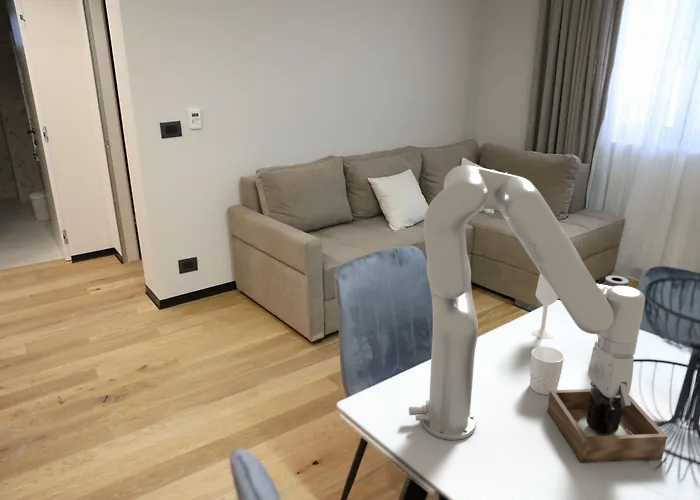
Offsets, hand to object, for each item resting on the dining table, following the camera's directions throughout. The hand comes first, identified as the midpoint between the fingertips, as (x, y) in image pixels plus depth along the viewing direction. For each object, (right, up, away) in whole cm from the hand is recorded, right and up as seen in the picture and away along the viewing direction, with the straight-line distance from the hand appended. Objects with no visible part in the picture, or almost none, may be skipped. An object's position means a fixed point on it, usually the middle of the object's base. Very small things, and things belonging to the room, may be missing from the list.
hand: (603, 411), depth 124 cm
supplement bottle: (0, -4, +1) cm, 4 cm away
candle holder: (+15, +5, +32) cm, 36 cm away
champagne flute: (+3, +10, +47) cm, 49 cm away
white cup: (-7, 0, +20) cm, 21 cm away
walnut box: (0, -6, +2) cm, 6 cm away
